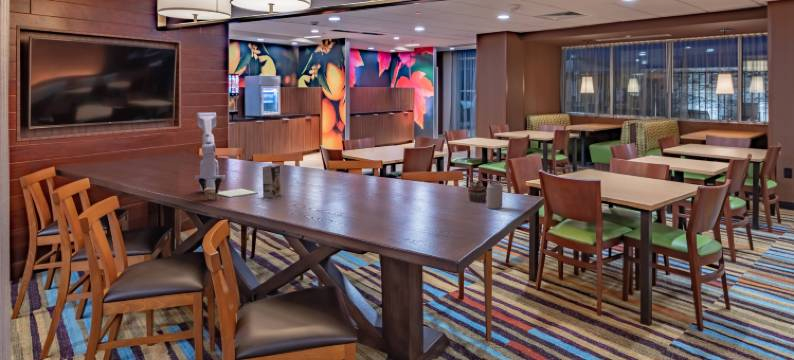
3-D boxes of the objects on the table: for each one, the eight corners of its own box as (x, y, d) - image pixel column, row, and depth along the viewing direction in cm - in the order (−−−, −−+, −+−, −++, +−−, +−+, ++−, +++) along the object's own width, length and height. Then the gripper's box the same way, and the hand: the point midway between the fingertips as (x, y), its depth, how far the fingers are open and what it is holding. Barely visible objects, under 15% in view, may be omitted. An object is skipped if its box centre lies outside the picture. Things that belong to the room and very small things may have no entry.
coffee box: (274, 197, 294) (273, 167, 291) (262, 197, 295) (261, 167, 292) (281, 194, 302) (280, 165, 300) (270, 194, 304) (269, 164, 301)
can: (490, 205, 275) (491, 181, 273) (504, 207, 270) (505, 183, 268) (483, 208, 268) (484, 183, 267) (498, 210, 264) (498, 185, 262)
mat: (213, 193, 305) (213, 192, 305) (241, 189, 318) (241, 188, 317) (229, 197, 294) (229, 196, 294) (257, 193, 306) (257, 192, 306)
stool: (204, 200, 287) (203, 189, 286) (207, 198, 292) (207, 187, 291) (215, 200, 287) (214, 189, 286) (218, 198, 292) (217, 187, 291)
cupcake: (475, 203, 280) (475, 183, 279) (464, 200, 289) (464, 181, 287) (490, 201, 285) (491, 182, 283) (479, 198, 293) (480, 179, 292)
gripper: (192, 168, 283) (194, 194, 285) (221, 168, 283) (223, 194, 285) (197, 166, 290) (198, 192, 292) (225, 166, 290) (226, 192, 292)
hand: (210, 193), depth 289 cm, fingers closed on stool, 5 cm apart
